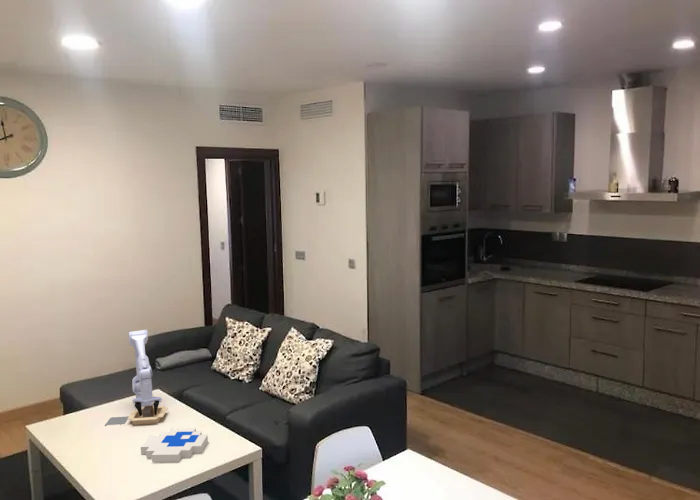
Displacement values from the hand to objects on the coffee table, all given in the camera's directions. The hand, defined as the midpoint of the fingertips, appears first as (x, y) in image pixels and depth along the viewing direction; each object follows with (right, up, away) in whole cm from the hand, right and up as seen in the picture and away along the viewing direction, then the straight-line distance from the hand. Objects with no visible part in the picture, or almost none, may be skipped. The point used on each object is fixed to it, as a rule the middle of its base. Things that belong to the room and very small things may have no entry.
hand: (148, 415), depth 311 cm
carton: (0, -2, 0) cm, 2 cm away
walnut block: (0, -2, 0) cm, 2 cm away
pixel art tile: (+25, -7, -34) cm, 43 cm away
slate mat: (-16, -3, -1) cm, 16 cm away
